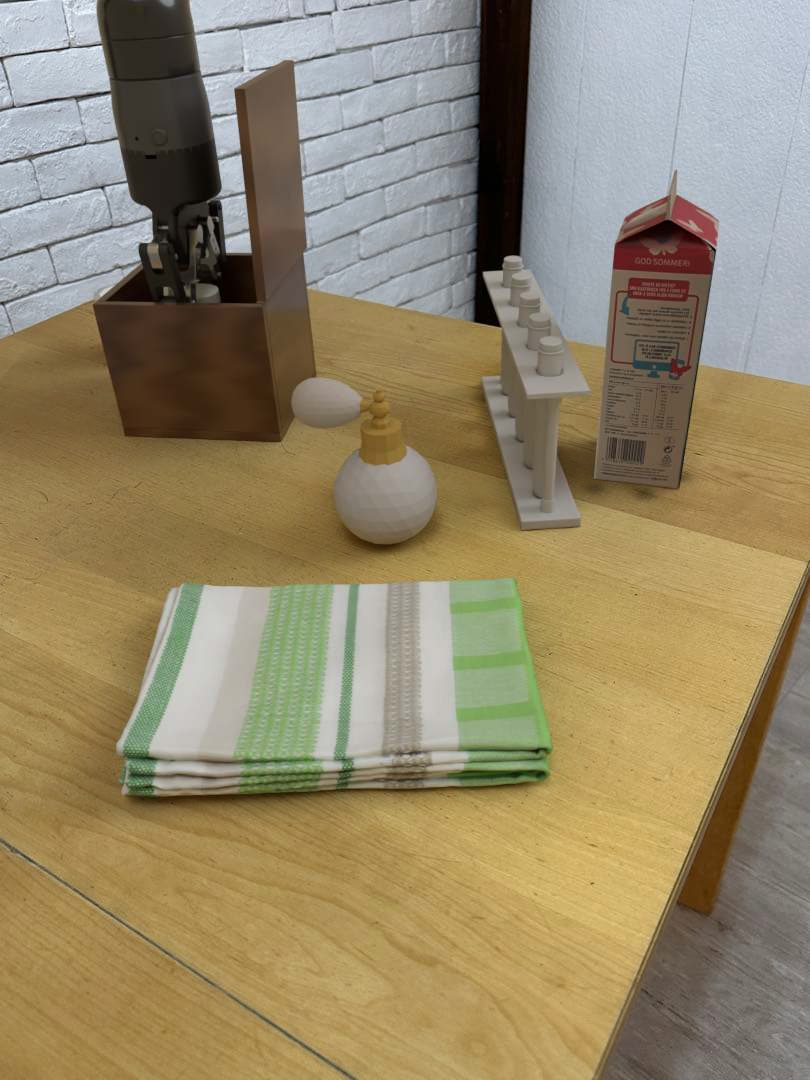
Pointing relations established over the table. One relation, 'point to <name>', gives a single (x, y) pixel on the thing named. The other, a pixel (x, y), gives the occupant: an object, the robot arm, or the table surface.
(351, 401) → the perfume bottle
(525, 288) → the test tube rack
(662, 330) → the juice carton
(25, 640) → the table surface
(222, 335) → the chest
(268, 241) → the lid
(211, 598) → the dish towel
